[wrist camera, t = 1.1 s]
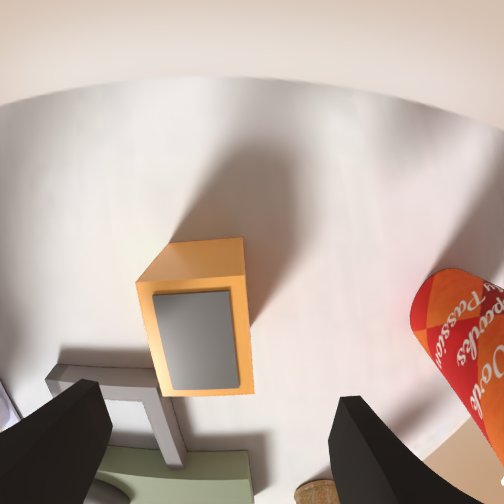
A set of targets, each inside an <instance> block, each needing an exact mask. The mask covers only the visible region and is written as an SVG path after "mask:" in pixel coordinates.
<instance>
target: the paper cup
mask: <svg viewBox="0 0 504 504" xmlns="http://www.w3.org/2000/svg"><path fill="white" fill-rule="evenodd" d="M410 325H411V328H412V331H413V333H414V335H415V336H416V338H417V339H418V341H419V342H420V343H421V345H422V346H423V348H424V349H425V350H426V352H427V353H428V355H429V356H430V357H431V359H432V360H433V361H434V363H435V364H436V366H437V367H438V368H439V370H440V371H441V373H442V374H443V375H444V377H445V378H446V380H447V381H448V382H449V384H450V385H451V387H452V388H453V390H454V391H455V392H456V394H457V395H458V397H459V398H460V400H461V401H462V403H463V404H464V405H465V407H466V408H467V410H468V411H469V413H470V414H471V416H472V417H473V419H474V420H475V422H476V423H477V425H478V426H479V428H480V429H481V431H482V432H483V434H484V436H485V437H486V438H487V440H488V442H489V443H490V445H491V447H492V448H493V449H494V451H495V453H496V455H497V456H498V458H499V460H500V461H501V463H502V464H503V466H504V289H503V288H501V287H498V286H496V285H494V284H492V283H490V282H488V281H486V280H483V279H481V278H479V277H477V276H475V275H472V274H470V273H467V272H465V271H462V270H459V269H455V268H448V269H444V270H441V271H439V272H437V273H435V274H434V275H432V276H431V277H430V278H429V279H428V280H427V281H426V282H425V283H424V284H423V285H422V286H421V288H420V289H419V291H418V292H417V294H416V296H415V298H414V301H413V303H412V307H411V311H410ZM501 482H502V485H504V477H503V479H502V481H501Z"/></svg>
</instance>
